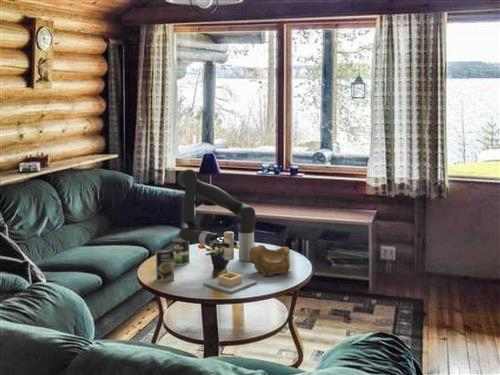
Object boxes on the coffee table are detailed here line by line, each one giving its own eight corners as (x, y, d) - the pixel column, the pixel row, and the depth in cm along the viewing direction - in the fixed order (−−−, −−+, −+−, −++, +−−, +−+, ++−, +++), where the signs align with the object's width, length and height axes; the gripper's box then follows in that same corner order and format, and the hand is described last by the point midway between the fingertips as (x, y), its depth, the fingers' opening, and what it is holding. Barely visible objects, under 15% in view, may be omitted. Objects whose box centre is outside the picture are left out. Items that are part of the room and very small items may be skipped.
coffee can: (185, 265, 326) (185, 242, 324) (169, 264, 329) (168, 241, 327) (192, 260, 336) (192, 237, 333) (176, 259, 339) (176, 236, 336)
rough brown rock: (249, 280, 304) (250, 254, 300) (248, 268, 320) (248, 243, 316) (292, 280, 305) (293, 254, 301) (288, 268, 321) (290, 243, 317)
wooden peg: (228, 256, 296) (228, 230, 294) (235, 258, 293) (235, 232, 290) (222, 258, 292) (221, 232, 290) (229, 260, 289) (228, 234, 287)
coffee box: (157, 282, 299) (156, 253, 296) (156, 278, 305) (155, 249, 302) (174, 280, 301) (173, 251, 298) (173, 276, 307) (172, 248, 304)
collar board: (229, 275, 309) (229, 267, 308) (257, 283, 296) (257, 274, 295) (203, 285, 294) (203, 276, 293) (231, 293, 281) (231, 285, 280)
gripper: (199, 235, 295) (222, 240, 284) (218, 229, 305) (241, 235, 294) (199, 248, 296) (223, 254, 285) (218, 243, 306) (242, 248, 295)
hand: (232, 244), depth 290 cm, fingers closed on wooden peg, 5 cm apart
